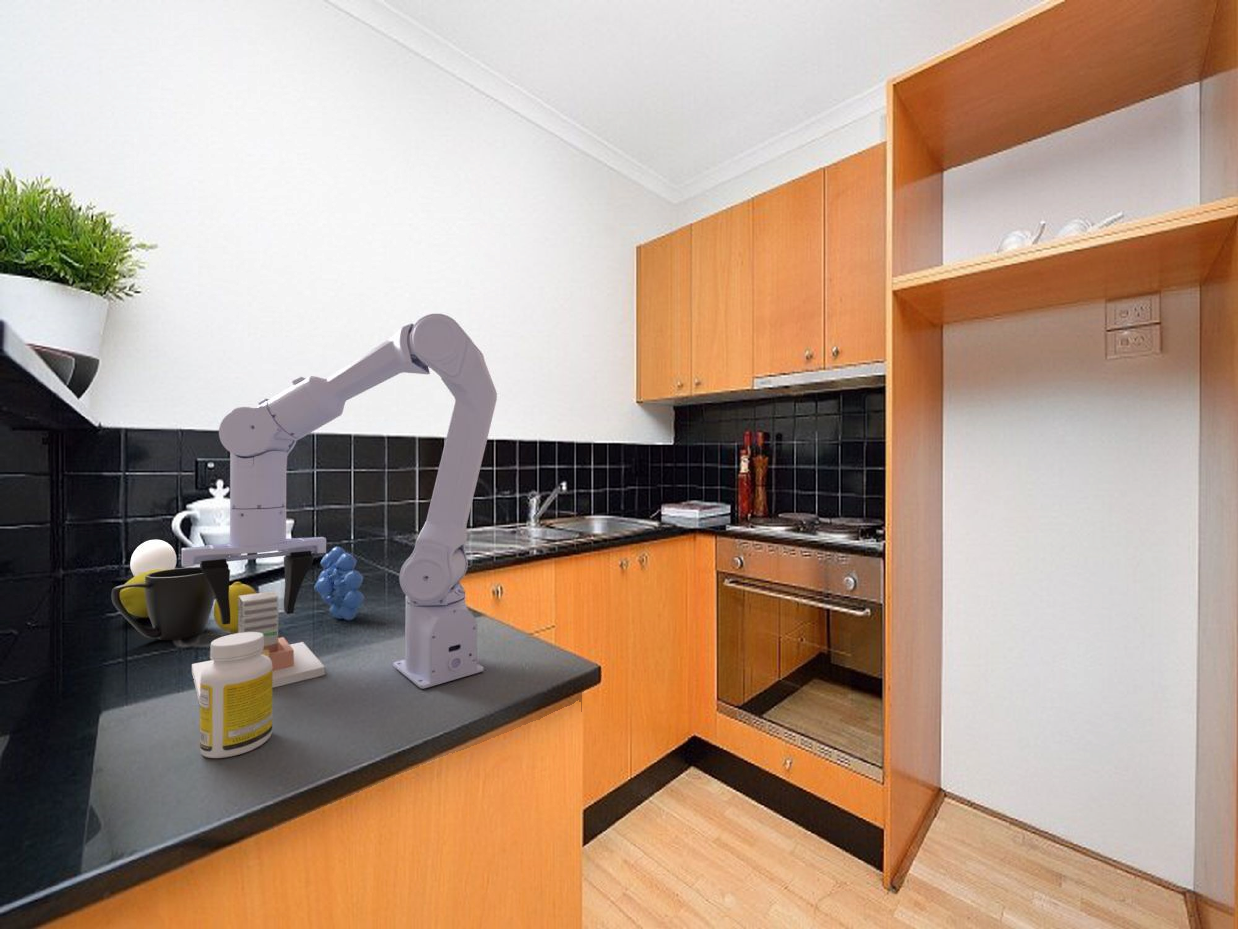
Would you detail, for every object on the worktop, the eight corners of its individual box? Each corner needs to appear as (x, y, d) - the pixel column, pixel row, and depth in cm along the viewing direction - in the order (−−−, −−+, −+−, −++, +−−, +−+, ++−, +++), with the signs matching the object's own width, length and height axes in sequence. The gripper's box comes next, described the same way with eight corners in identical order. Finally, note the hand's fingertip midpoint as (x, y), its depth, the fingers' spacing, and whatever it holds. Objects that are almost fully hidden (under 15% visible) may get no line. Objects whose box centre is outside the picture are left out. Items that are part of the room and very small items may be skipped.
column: (278, 643, 63) (278, 596, 63) (242, 650, 61) (242, 602, 61) (272, 636, 66) (273, 591, 66) (238, 642, 64) (238, 595, 64)
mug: (100, 645, 73) (100, 578, 73) (201, 622, 84) (201, 564, 84) (122, 655, 69) (123, 585, 69) (225, 631, 80) (226, 569, 80)
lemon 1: (183, 606, 94) (184, 562, 94) (204, 612, 90) (204, 566, 90) (102, 622, 84) (102, 573, 84) (121, 629, 80) (121, 578, 80)
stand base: (324, 674, 63) (324, 645, 63) (199, 705, 55) (199, 671, 55) (302, 649, 72) (302, 623, 72) (191, 672, 64) (191, 643, 64)
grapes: (296, 618, 86) (297, 547, 86) (337, 609, 92) (338, 542, 92) (331, 632, 80) (331, 554, 80) (373, 621, 85) (373, 548, 85)
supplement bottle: (285, 728, 50) (285, 628, 51) (246, 760, 45) (247, 648, 45) (228, 729, 50) (229, 629, 50) (183, 761, 45) (184, 649, 45)
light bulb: (133, 594, 102) (133, 539, 102) (177, 589, 106) (178, 536, 106) (127, 602, 96) (127, 543, 96) (174, 596, 100) (175, 540, 100)
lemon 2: (234, 641, 75) (235, 586, 75) (203, 638, 76) (204, 585, 76) (267, 629, 80) (268, 578, 80) (238, 627, 82) (238, 577, 82)
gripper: (317, 502, 72) (316, 600, 71) (180, 508, 62) (179, 621, 62) (330, 506, 66) (330, 611, 66) (183, 512, 56) (183, 636, 56)
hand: (258, 617), depth 64 cm, fingers open, 6 cm apart
